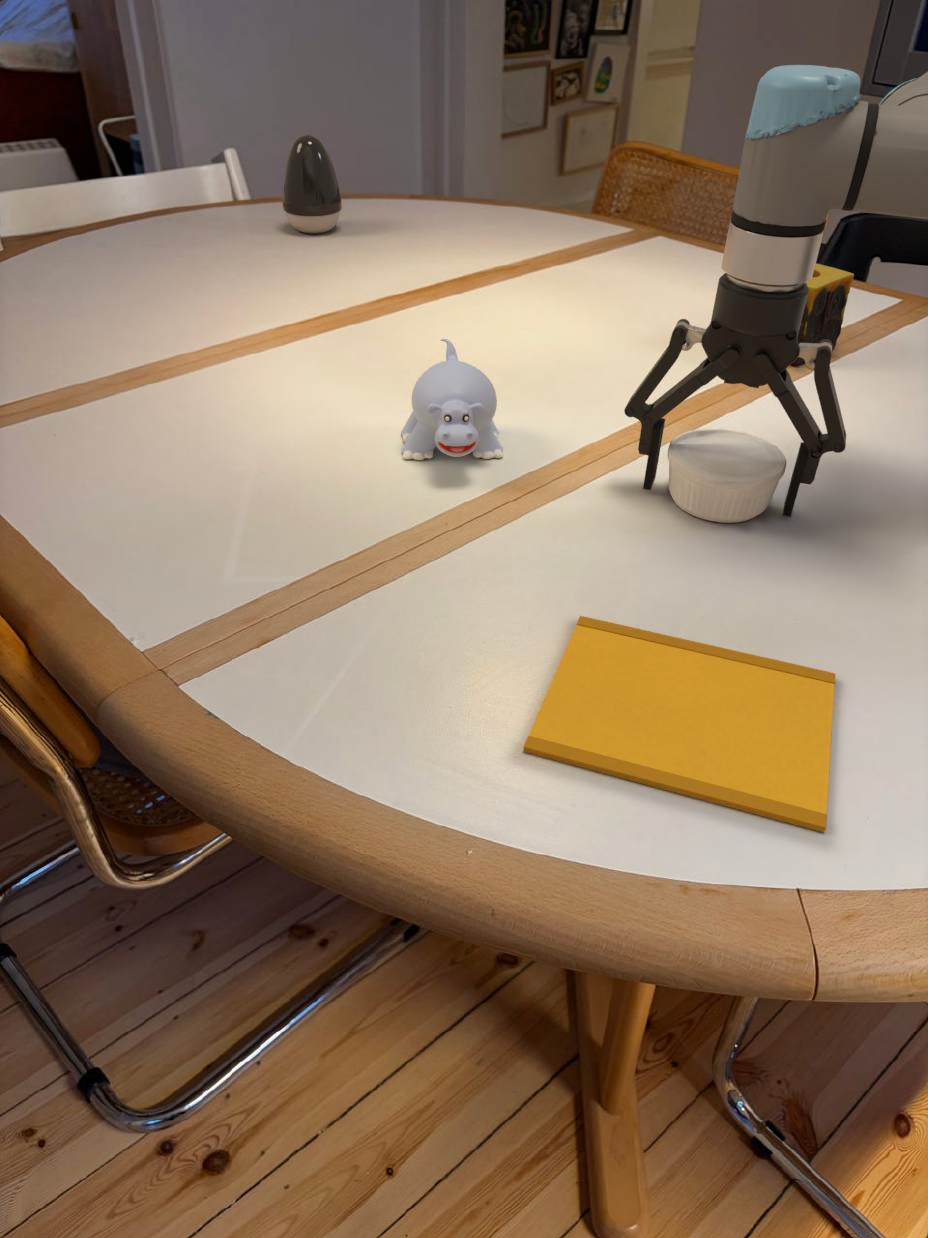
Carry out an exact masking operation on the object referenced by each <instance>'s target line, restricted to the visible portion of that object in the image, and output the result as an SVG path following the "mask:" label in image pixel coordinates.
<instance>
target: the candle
mask: <svg viewBox="0 0 928 1238" xmlns="http://www.w3.org/2000/svg"><path fill="white" fill-rule="evenodd" d="M854 277H855V273H853V272H849V271H846V270H842V269H840V268H837V267H833V266H828V265H824V264H821V263H817V262H816V265H815V268H814V272H813V276H812V278H811V279H810V280H809V281H807V282H806V284H807V286H808V288H809V293H808V297H807V301H806V305H805V309H804V313H803V317H802V321H801V325H800V329H799V333H798V336H799V341H800V343H819V342H820V341H821V340H823V339H828V340H830V341H831V342H832V350H834V349H835V348H836V346H837V341H838V339H839V337H840V335H841V333H842V325H843V322H844V315H845V310H846V306H847V303H848V297H849V294H850V292H851V286H852V284H853V282H854V281H853V280H854ZM804 363H805V361H804V359H803V358H800V357H798V358H797V359H796V360H795V361H794V362H793V363H792V364H791V365H792V366H800V365H803V364H804Z"/></svg>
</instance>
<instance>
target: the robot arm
mask: <svg viewBox="0 0 928 1238" xmlns="http://www.w3.org/2000/svg"><path fill="white" fill-rule="evenodd" d="M860 89H861V77H860V75H859V74H858V73H857V72H855V71H853V70H850V69H846V68H839V67H829V66H824V65H814V64H813V65H812V64H787V65H779V66H775V67H772V68H771V69H768V71H766V72H765V74H764V75H763V76H762V77H760V79H759V81H758V83H757V87H756V91H755V94H754V99H753V103H752V107H751V112H750V116H749V121H748V125H747V129H746V131H745V136H744V143H743V148H742V153H741V159H740V164H739V165H740V166H739V170H738V177H737V182H736V188H735V193H734V198H733V203H732V204H733V205H732V211H731V216H730V219H729V223H728V229H727V233H726V240H725V244H724V250H723V255H722V261H721V269H722V271H723V272H724V273H723V274H722V275H721V276H720V277H719V278H718V282H717V288H716V293H715V299H714V302H713V303H714V304H713V308H712V314H711V319H710V323H709V324H708V326H707V327H706V328H703V327H700V326H695V325H692V324H690V322H689V320H688V319H686V318H681V319H679V320H678V321H677V323H676V325H675V326H674V328H673V330H672V332H671V335H670V339H669V343H668V346H667V347H666V349H665V350H664V351H663V353H662V354H661V355H660V357H659V358H658V359H657V361H656V362H655V363H654V365H653V366H652V368H651V369H650V370H649V372H648V374H647V375H646V376H645V377H644V378H643V380H642V381H641V383H640V384H639V386H638V387H637V388H636V390H635V391H634V393H633V394H632V395H631V396H630V398H629V400H628V402H627V404H626V406H625V407H624V409H623V410H624V412H623V413H624V415H625V416H626V417H628V418H634V419H636V420H638V421H639V422H640V425H641V428H640V434H639V440H638V448H637V450H638V454H639V455H644V456H647V461H646V467H645V473H644V479H643V486H642V489H643V490H647V491H651V489H652V488H653V486H654V483H655V480H656V477H657V471H658V465H659V460H660V459H659V458H660V452H661V447H662V443H663V442H662V440H663V436H664V429H665V423H666V418H664V417H666V416H667V415H668V414H669V413H670V412H671V411H673V410H674V409H675V408H677V407H678V406H679V405H680V404H682V403H683V402H684V401H685V400H686V399H688V398H689V397H690V396H692V395H693V394H695V392H697V391H698V390H700V389H701V388H703V387H704V386H706V385H708V384H709V383H710V382H711V381H713V380H715V378H716V377H718V378H719V379H720V380H722V381H723V383H724V384H728V385H738V384H742V385H744V386H747V387H749V388H754V389H759V388H760V387H763V386H766V385H767V386H768V387H769V389H770V391H771V392H772V394H773V396H774V397H775V398H777V400H778V401H779V403H780V406H781V407H782V408H783V410H784V411H785V413H786V415H787V418H789V420H790V422H791V424H792V425H793V427H794V429H795V431H796V432H797V434H798V436H799V437H800V439H801V441H802V442H800V445H799V448H798V452H797V456H796V459H795V462H794V467H793V471H792V473H791V474H792V475H791V477H790V482H789V485H788V488H787V493H786V497H785V499H784V504H783V511H782V517H788V518H792V514H793V510H794V506H795V503H796V499H797V497H798V492H799V488H800V484H805V485H809V486H811V485H812V484H813V482H815V478H816V474H817V472H818V468H819V464H820V460H821V457H822V456H823V455H824V454H826V453H830V452H834V453H836V454H840V453H843V452H844V451H845V449H846V445H847V432H846V427H845V424H844V419H843V415H842V411H841V407H840V403H839V398H838V394H837V390H836V386H835V382H834V378H833V372H832V370H831V359H832V352H833V349H832V342H831V341H830V340H828V339H823V340H821V341H820V342H819V343H800V341H799V336H798V333H799V329H800V325H801V321H802V317H803V313H804V309H805V305H806V301H807V297H808V293H809V288H808V286H807V284H806V282H807V281H809V280H810V279H811V278H812V276H813V272H814V268H815V265H816V263H817V261H818V256H819V253H820V249H821V244H822V240H823V238H824V237H823V236H824V233H825V229H826V224H827V218H828V215H829V213H830V211H831V210H840V211H846V212H859V213H868V214H877V215H885V216H892V217H902V218H910V219H918V220H919V219H920V220H928V71H926V72H925V73H924V74H922V75H921V76H919V77H917V78H912V79H910V80H907V81H904V82H902V83H900V84H899V85H897V86H895V87H894V88H893V89H892V90H890V91H889V92H888V93H887V94H886V95H885V96H884V97H883V98H882V99H881V101H880V102H879V103H873V102H872V103H871V102H869V101H865V100H864V101H863V100H860V98H861V94H860ZM696 344H701V346H702V349H703V350H704V353H705V354H706V358H705V359H704V360H702V361H701V362H700V364H699V365H698V366H697V367H696V368H694V369H693V370H692V371H691V372H689V373H688V374H687V375H685V376H684V377H683V378H682V379H681V380H679V381H678V382H677V383H676V384H675V385H673V386H672V387H671V388H670V389H668V390H667V391H666V392H665V393H663V394H662V395H661V396H659V397H658V398H656V399H655V401H653V402H652V403H647V401H648V399H649V398H650V397H651V395H652V394H653V392H654V391H655V390H656V388H657V387H658V386H659V385H660V383H661V382H662V380H664V378H665V376H666V375H667V374H668V372H669V371H670V370H671V369H672V367H673V366H674V364H675V363H676V361H678V359H679V357H680V354H681V353H682V351H684V352H688V351H690V350H691V349H692V348H693V346H694V345H696ZM798 357H800V358H803V359H804V361H805V362H804V363H805V367H806V368H807V369H808V370H811V371H813V379H814V380H813V381H814V384H815V389H816V393H817V396H818V400H819V404H820V409H821V413H822V417H823V421H824V425H825V429H826V432H827V433H823V432H822V430H821V429H820V427H819V425H818V424H817V422H816V421H815V418H814V417H813V414H812V413H811V411H810V410H809V408H808V406H807V404H806V403H805V401H804V400H803V397H802V396H801V394H800V393H799V391H798V389H797V388H796V385H795V384H794V381H793V380H792V376H791V375H790V373H789V371H788V369H787V368H788V367H790V366H791V365H792V363H793V362H794V361H795V360H796V359H797V358H798Z"/></svg>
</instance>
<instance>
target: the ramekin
mask: <svg viewBox="0 0 928 1238" xmlns="http://www.w3.org/2000/svg"><path fill="white" fill-rule="evenodd" d="M667 460H668V491H669V494H670V496H671V498H672V500H673V501H674V503H675V504H676V505H677V507H679V508H680V509H681V510H682V511H684V512H686V513H687V514H689V515H690V516H694V517H696V518H699V519H702V520H706V521H710V522H716V523H724V524H725V523H726V524H729V523H730V524H731V523H732V524H733V523H741V522H746V521H750V520H752V519H754V518H756V517H757V516H759V515H761V514H762V513H763V512H764V511H766V509H767V508H768V506H769V505H770V502H771V500H772V499H773V496H774V493H775V491H776V489H777V487H778V485H779V482H780V480H781V479H782V478H783V477H784V475H785V472H786V469H787V459H786V456H785V454H784V452H783V451H782V450H781V449H780V448H779V447H778V446H777V445H776V444H774V443H772V442H770V441H768V440H767V439H764V438H763V437H760V436H757V435H754V434H751V433H747V432H744V431H739V430H735V429H725V428H701V429H699V428H698V429H692V430H688V431H685V432H683V433H680V434H678V435H676V436H675V437H673V439H672V440H671V441H670V442H669V444H668V447H667Z"/></svg>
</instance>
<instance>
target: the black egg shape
mask: <svg viewBox="0 0 928 1238" xmlns="http://www.w3.org/2000/svg"><path fill="white" fill-rule="evenodd" d="M285 164H286V165H285V170H284V176H283V185H282V210H283V211H284V212H285V216H286V218H287V221H288V222H289V224H290V225H291V226H292V228H294V229H295V230H297V231H299V232H301V233H303V234H312V235H313V234H315V235H316V234H322V233H323V234H324V233H326V232H329V231H330V230H332V229H333V228H334V227H336V226H335V225H337V224H338V221H339V219H340V214H341V211H342V209H343V204H342V196H341V190H340V186H339V182H338V178H337V174H336V171H335V168H334V164H333V162H332V159H331V156H330V153H329V152H328V150H327V148H326V146H325V145H324V143H323V142H322V140H320V138H318V137H316V136H315V135H313V134H311V133H308V134H302V135H299V136H298V137H297V138H296V139H295V140H294V141H293V143H292V145H291V147H290V150H289V153H288V155H287V160H286V163H285Z"/></svg>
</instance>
